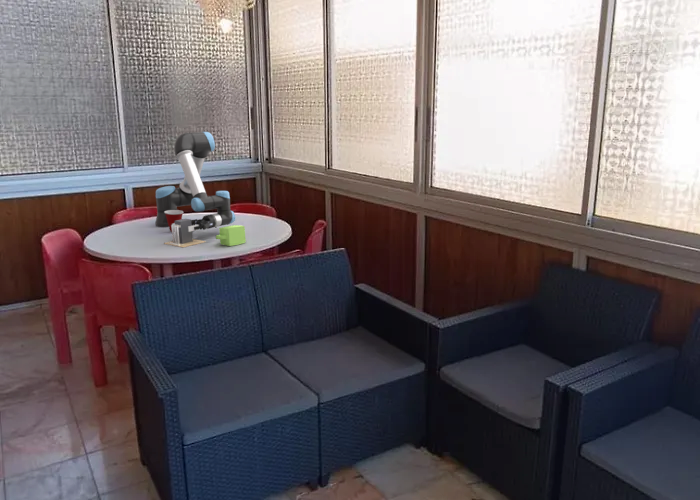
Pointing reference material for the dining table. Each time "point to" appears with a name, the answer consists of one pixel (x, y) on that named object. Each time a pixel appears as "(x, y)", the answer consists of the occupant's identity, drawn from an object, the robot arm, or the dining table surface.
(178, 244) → the board
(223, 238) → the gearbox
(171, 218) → the plastic cup
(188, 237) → the plug housing
